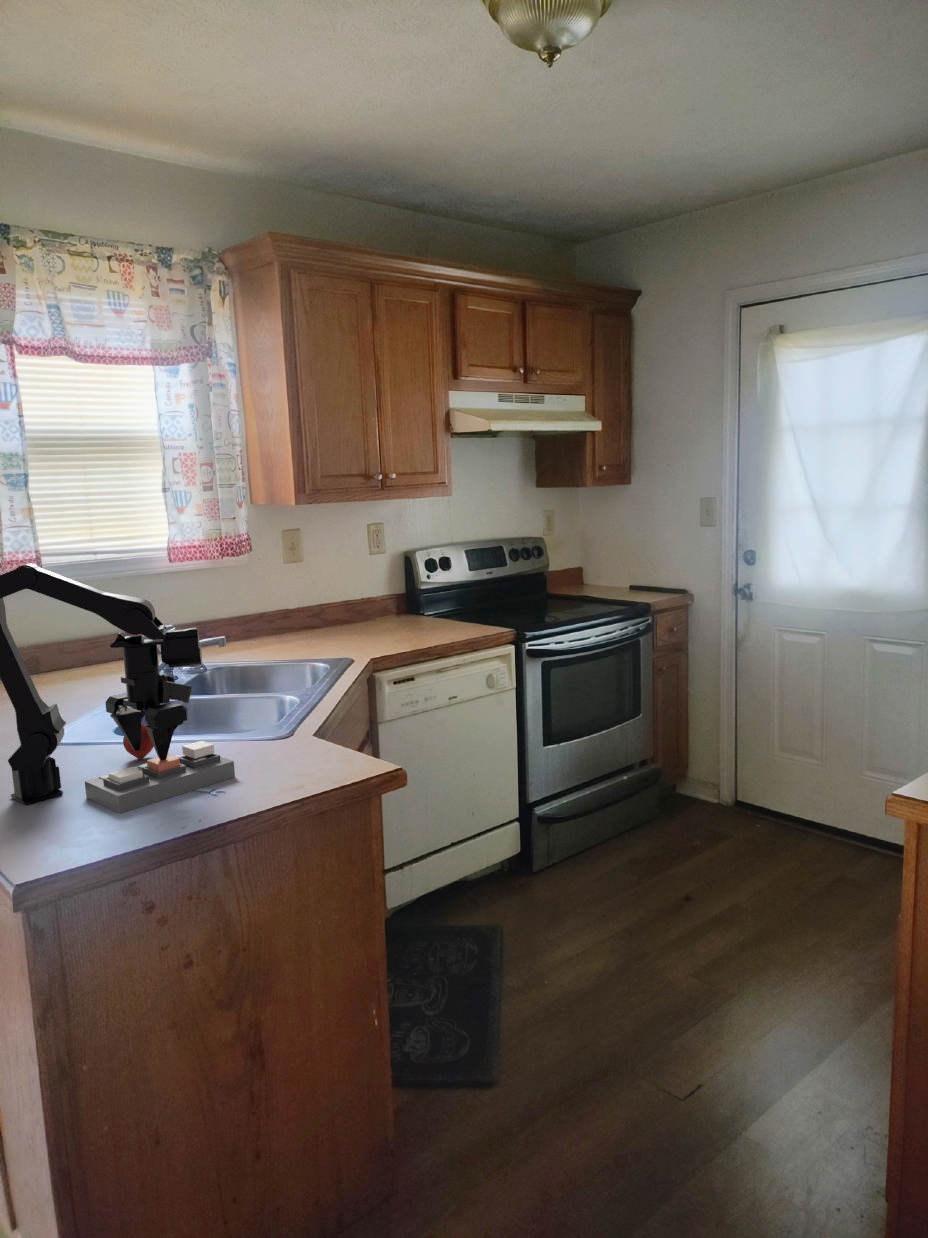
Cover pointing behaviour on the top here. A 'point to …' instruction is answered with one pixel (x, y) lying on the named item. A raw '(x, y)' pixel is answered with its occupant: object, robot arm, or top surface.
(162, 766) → the button middle
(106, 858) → the top surface
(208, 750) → the button right
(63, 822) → the top surface
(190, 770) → the button panel
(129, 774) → the button left
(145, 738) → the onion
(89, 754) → the top surface
